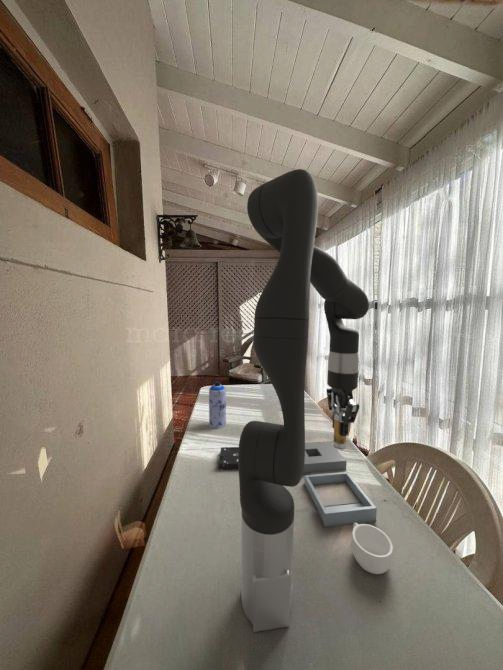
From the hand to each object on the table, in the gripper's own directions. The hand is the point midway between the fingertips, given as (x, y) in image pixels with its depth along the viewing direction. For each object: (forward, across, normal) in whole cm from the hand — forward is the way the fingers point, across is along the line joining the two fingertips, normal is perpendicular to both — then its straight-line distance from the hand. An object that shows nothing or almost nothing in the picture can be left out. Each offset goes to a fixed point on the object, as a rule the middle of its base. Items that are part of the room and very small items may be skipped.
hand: (339, 431), depth 70 cm
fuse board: (+20, +18, 0) cm, 27 cm away
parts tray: (+20, 0, 0) cm, 20 cm away
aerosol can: (+21, +52, +32) cm, 64 cm away
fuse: (+4, 0, 0) cm, 4 cm away
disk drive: (+21, +23, +24) cm, 40 cm away
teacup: (+21, -16, +1) cm, 26 cm away
